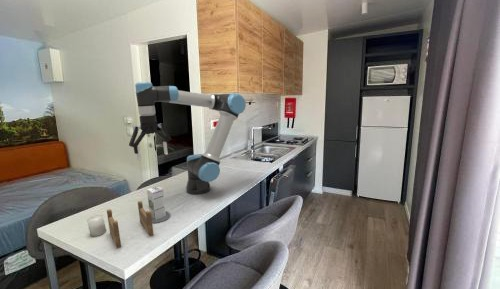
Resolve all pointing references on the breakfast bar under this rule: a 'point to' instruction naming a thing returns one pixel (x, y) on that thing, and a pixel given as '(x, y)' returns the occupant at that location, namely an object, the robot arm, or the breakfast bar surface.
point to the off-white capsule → (96, 225)
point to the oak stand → (144, 221)
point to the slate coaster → (161, 218)
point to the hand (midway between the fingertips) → (153, 157)
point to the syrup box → (156, 202)
